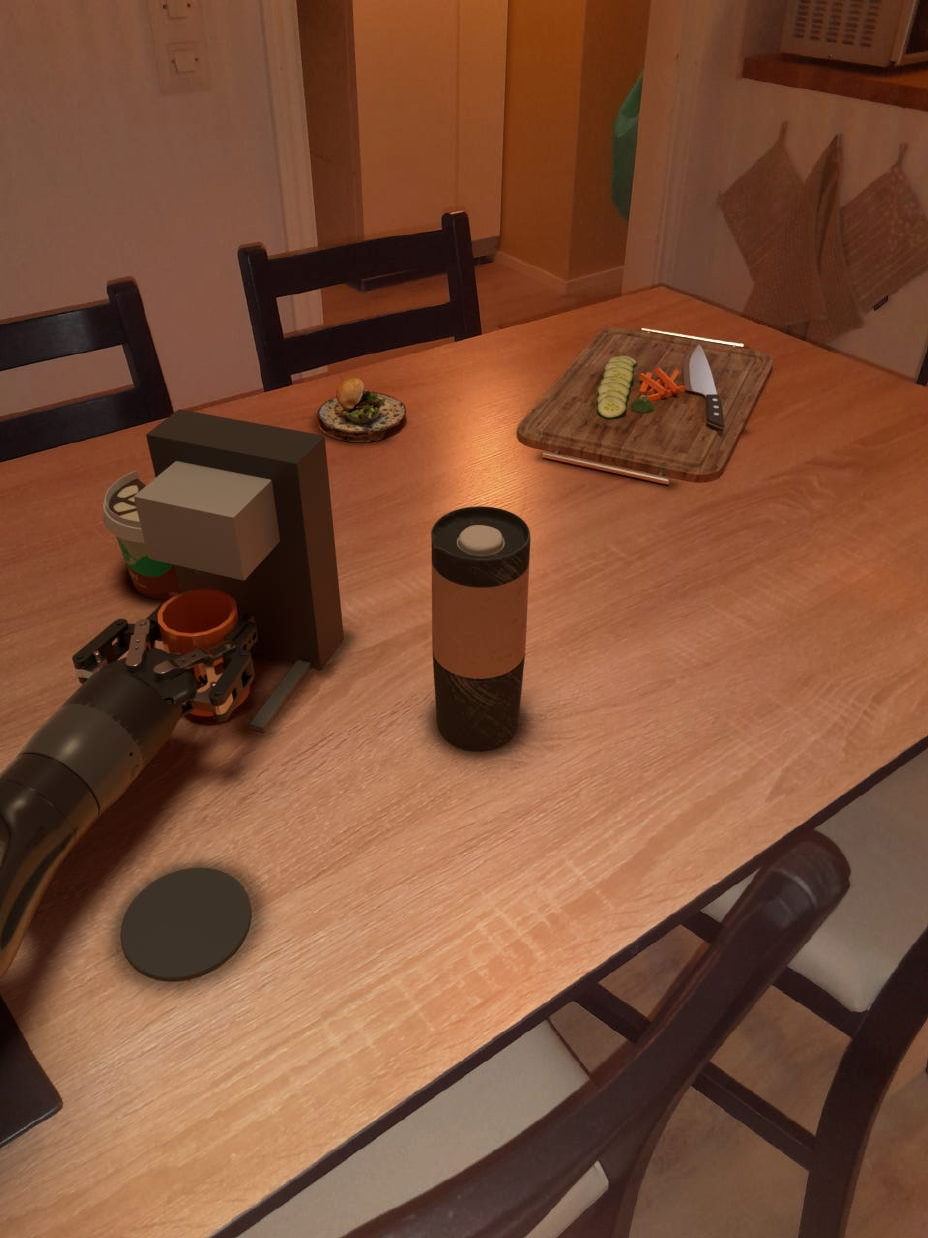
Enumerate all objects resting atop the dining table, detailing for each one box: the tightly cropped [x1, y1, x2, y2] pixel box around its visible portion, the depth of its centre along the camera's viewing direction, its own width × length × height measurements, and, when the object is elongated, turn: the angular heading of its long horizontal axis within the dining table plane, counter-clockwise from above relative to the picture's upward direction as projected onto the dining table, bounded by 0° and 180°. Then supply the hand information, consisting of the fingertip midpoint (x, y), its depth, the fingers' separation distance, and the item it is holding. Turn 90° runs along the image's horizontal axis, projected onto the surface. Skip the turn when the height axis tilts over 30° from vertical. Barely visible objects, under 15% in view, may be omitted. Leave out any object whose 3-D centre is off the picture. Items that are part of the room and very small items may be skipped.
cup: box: [158, 589, 251, 717], centre depth 83 cm, size 6×6×9 cm
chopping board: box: [516, 327, 774, 486], centre depth 134 cm, size 45×27×3 cm, turn 156°
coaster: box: [119, 867, 252, 982], centre depth 69 cm, size 9×9×1 cm
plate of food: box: [316, 371, 407, 443], centre depth 127 cm, size 12×12×8 cm
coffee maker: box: [134, 408, 345, 734], centre depth 83 cm, size 14×14×22 cm
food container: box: [102, 469, 181, 601], centre depth 97 cm, size 12×6×10 cm, turn 42°
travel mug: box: [430, 505, 532, 752], centre depth 79 cm, size 8×8×20 cm
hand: (214, 614), depth 83 cm, fingers closed on cup, 6 cm apart
